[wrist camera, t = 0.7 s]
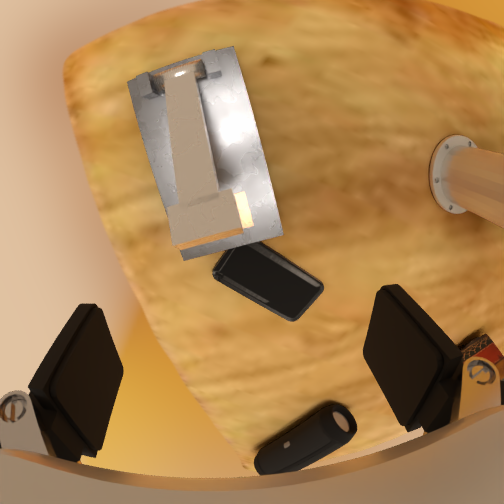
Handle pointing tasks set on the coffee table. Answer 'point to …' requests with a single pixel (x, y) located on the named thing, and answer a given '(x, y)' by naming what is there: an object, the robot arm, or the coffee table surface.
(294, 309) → the phone
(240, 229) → the latch bar
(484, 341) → the decorative box
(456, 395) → the robot arm
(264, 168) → the base block
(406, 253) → the coffee table surface
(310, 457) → the portable speaker
